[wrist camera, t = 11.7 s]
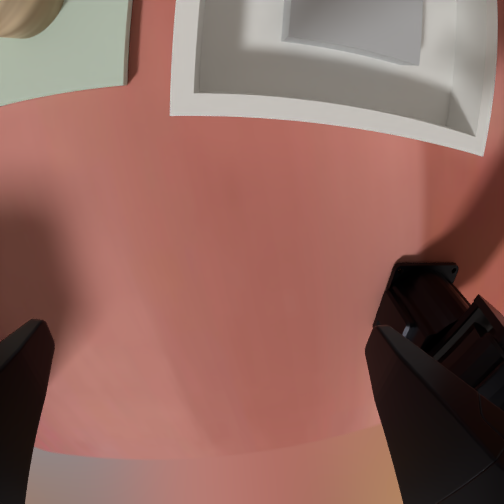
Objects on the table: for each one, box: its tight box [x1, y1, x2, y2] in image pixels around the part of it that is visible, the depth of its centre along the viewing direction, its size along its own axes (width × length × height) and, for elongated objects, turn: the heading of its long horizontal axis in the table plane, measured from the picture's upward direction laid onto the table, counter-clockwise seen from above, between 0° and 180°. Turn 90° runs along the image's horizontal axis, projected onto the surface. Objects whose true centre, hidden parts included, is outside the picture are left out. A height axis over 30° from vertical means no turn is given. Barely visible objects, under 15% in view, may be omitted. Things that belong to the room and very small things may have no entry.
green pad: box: [0, 0, 133, 106], centre depth 11 cm, size 12×12×1 cm
